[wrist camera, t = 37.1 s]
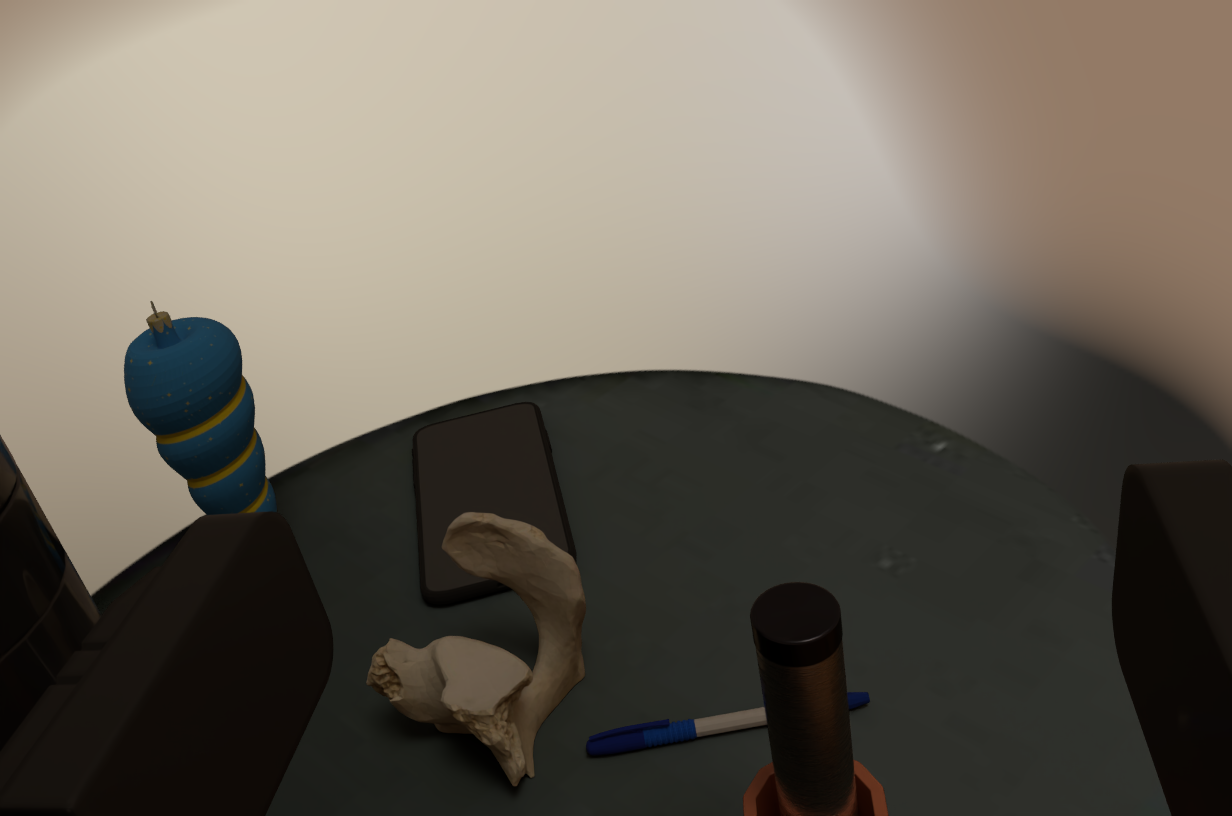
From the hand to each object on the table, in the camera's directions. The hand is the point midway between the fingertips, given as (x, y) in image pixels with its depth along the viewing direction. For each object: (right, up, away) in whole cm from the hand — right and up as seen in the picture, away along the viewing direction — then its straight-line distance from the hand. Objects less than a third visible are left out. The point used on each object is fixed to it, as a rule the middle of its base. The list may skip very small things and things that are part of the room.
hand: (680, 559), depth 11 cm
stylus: (+6, -15, +21) cm, 26 cm away
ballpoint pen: (+4, -11, +30) cm, 32 cm away
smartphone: (-7, -3, +45) cm, 46 cm away
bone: (-5, -11, +31) cm, 34 cm away
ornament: (-18, -7, +43) cm, 47 cm away
